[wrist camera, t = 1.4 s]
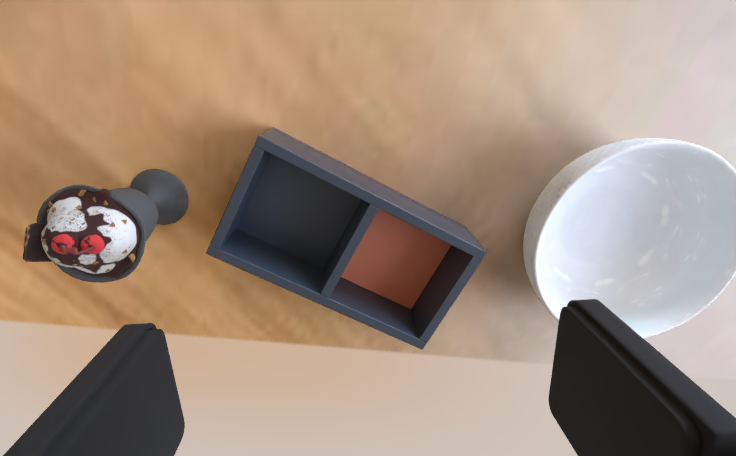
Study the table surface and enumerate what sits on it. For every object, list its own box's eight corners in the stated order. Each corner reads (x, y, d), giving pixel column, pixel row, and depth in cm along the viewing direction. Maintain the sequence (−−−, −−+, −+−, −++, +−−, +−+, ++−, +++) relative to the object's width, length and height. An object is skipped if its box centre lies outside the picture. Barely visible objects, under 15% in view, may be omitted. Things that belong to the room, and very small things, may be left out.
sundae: (211, 184, 36) (121, 246, 22) (178, 245, 38) (76, 340, 24) (138, 143, 35) (-7, 182, 21) (108, 209, 36) (-46, 286, 22)
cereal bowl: (637, 89, 35) (705, 90, 28) (711, 235, 40) (784, 265, 33) (469, 208, 38) (495, 234, 31) (556, 331, 42) (595, 377, 36)
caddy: (412, 313, 41) (422, 350, 35) (227, 228, 37) (205, 253, 32) (466, 227, 38) (487, 252, 33) (273, 127, 35) (258, 135, 29)
